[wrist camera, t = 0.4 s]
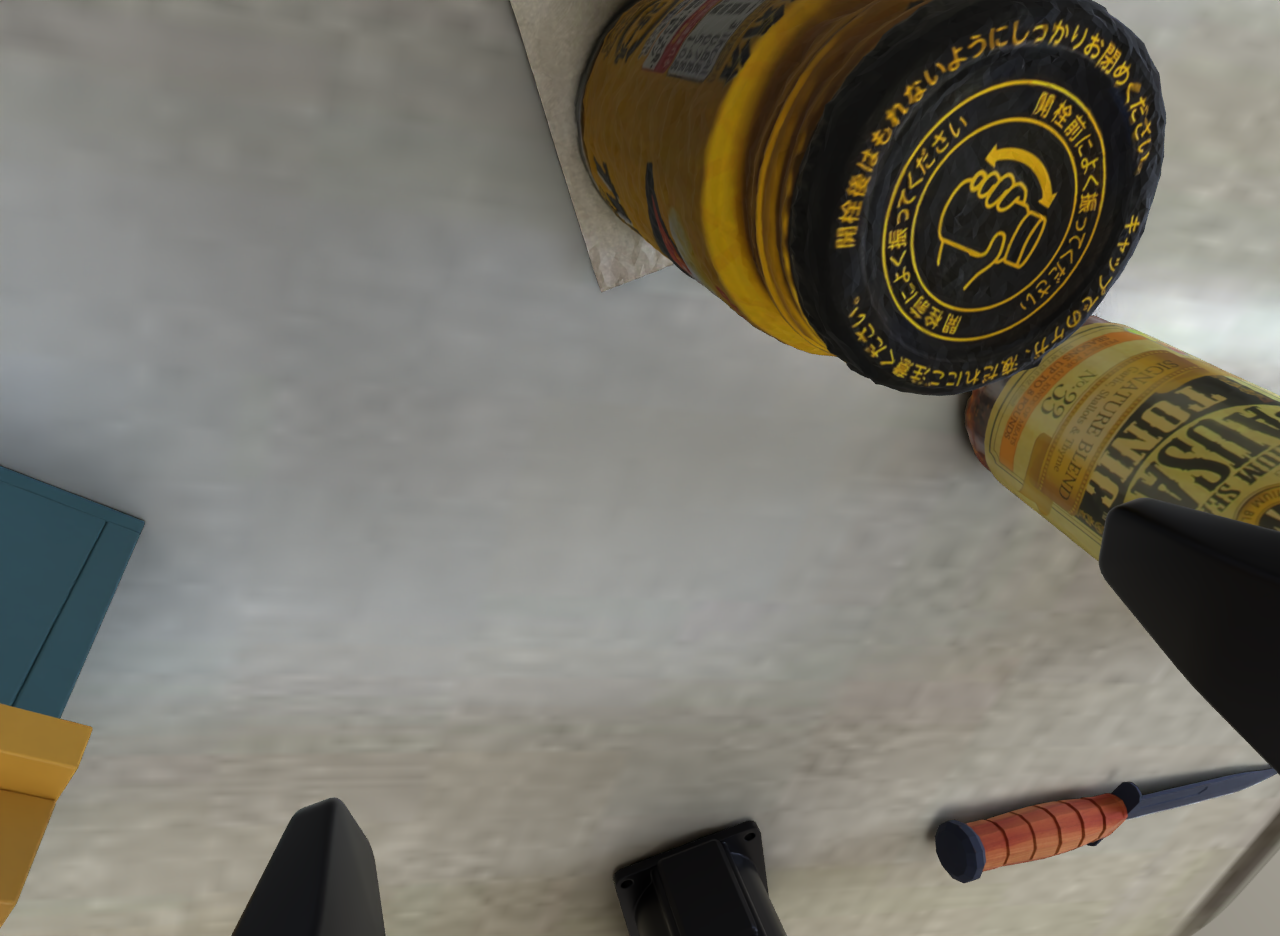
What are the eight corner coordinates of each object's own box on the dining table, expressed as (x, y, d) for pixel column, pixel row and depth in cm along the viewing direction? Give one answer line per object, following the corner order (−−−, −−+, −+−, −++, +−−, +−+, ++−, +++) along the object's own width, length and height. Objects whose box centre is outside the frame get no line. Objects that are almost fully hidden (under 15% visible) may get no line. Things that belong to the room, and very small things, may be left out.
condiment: (599, 290, 22) (801, 524, 12) (484, -77, 17) (653, -214, 7) (842, 199, 22) (1228, 345, 12) (794, -175, 18) (1341, -423, 8)
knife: (1237, 776, 50) (1293, 727, 47) (1275, 816, 48) (1336, 767, 45) (911, 853, 40) (957, 797, 37) (942, 907, 38) (993, 852, 35)
